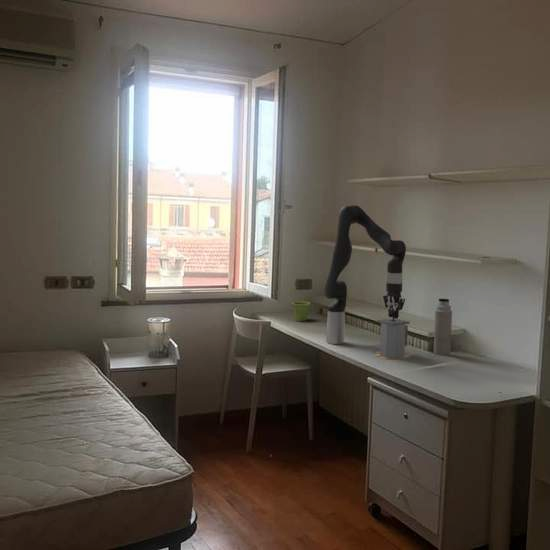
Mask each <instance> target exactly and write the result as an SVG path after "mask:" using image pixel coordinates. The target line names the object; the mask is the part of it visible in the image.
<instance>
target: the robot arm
mask: <svg viewBox="0 0 550 550" xmlns="http://www.w3.org/2000/svg"><path fill="white" fill-rule="evenodd" d="M354 224H357V225H360V226H362V227H363V228H364V229H365V231H366V233H367V235H368V236H369V238H371V240H373V241H374V242H376V243H377V244H378V245H379V247H380V248H381V249H382V251H384V253H385V254H387V255H389V256H392V257H391V260H390V259H389V260H388V262H387V268H386V271H387V272H386V284H385V285H386V287H385V288H386V289H385V290H386V292H387V294H386V295H383V296H382V299H383V302H384V307H385V308H387V310H388V311H387V316H388V318H392V315H391V314H390V308H394V310H395V311H394V318H396V319H399V313H400V310H401V311H402V310H403V308H404V305H405V302H406V298H403V297H402V292H403V278H404V277H403V263H404V261H405V257H406V252H407V246H406V244H405V242H404V241H403V240H401V239H399V240H393V239H392V237H391V234H390V233H389V232H388V231H386V230H385V229H384V228H382V227H381V226H379V225H378V224H377V223H376V222H375V221H374V220H373V219H372V218H371V217H370V216H369V215H368V214H367V213H366V211H364V209H362V207H361V206H359V205H356V204H354V205H345V206H343V207H342V208H341V209H340V211H339V214H338V222H337V232H336V238H335V244H334V247H333V248H334V249H333V252H332V259H331V264H330V268H329V272H328V275H327V278H326V282H325V285H324V295H325V297H326V298H327V299H328V300H329V299H331V300H332V299H335V300H334V301H333V302H331V303H330V304H328V305H327V317H326V318H327V319H326V320H327V324H326V326H325V327H326V329H325V332H326V333H325V335H326V336H325V342H326V343H327V344H331V345H342V344H344V343H345V327H346V325H345V324H346V320H345V319H346V306H347V299H348V297H347V296H348V288H347V284H346V282H345V281H344V280H338V279H339V276H340V274H341V273H342V271H344V270H345V268H346V267H347V266H348V265H349V263H350V260H351V256H352V253H353V245H352V242H351V239H350V228H351V225H354Z"/></svg>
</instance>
